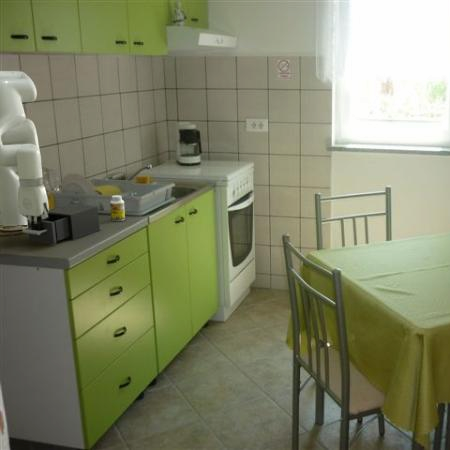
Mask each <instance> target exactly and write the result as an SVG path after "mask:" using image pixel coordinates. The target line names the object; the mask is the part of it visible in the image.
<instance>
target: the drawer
mask: <svg viewBox="0 0 450 450" xmlns="http://www.w3.org/2000/svg"><path fill="white" fill-rule="evenodd" d="M27 223H28V228H27V229H22V230H21V231H22V233H23V234H28V240H29V241H31V242H38V243H44V244H45V243H46V244H52V245H55V244H57V242H59V241H62V240H66V239H65V238H67V237H70V236H71V229H70V218H69V217H67V216H59V215H51V214H48V218H46V219H43V221H42V222H41V226H42V231H35V230H31V223H29V220H28V219H27Z"/></svg>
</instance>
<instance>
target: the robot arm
mask: <svg viewBox="0 0 450 450" xmlns="http://www.w3.org/2000/svg"><path fill="white" fill-rule="evenodd" d="M37 95H38V92H37V87H36V85H35V82H33V80H32V79H31V77H30V76H29V75H27V73H25V72H24V71H21V70H0V225H3V226H17V225H28V223H27V219H28V220H29V223H31V230H35V231H42V226H41V222H42V221H43V219H46V218H48V213H49V210H50V206H49V198H48V195H47V190H46V187H45V185H44V176H43V168H42V156H41V149H40V144H39V137H38V132H37V128H36V125H35V123H34V121H33V120H31V119H30V118H27V116H26V112H25V109H24V106H23V103H33V102H35V101H36V99H37V97H38V96H37ZM17 173H18V174H17ZM23 229H28V226H27V227H22V228H15V229H3V228H0V231H6V232H7V231H8V232H10V231H11V232H13V231H14V232H15V231H22V230H23Z"/></svg>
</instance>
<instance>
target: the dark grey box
mask: <svg viewBox="0 0 450 450" xmlns="http://www.w3.org/2000/svg"><path fill="white" fill-rule="evenodd" d="M48 214H51V215H59V216H67V217H69V218H70V229H71V236H70V237H67V238H65V239H64V240H70V241H74V240H77V239H80V238H83V237H85V236H88V235H91V234H93V233H97V232H98V231H100V220H99V219H100V217H99V208H98V206H97V205H89V204H88V205H87V204H80V203H69V204H66V205H65V204H64V205H62V206H58V207H54V208H52V209H49V213H48Z"/></svg>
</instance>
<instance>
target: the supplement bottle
mask: <svg viewBox="0 0 450 450" xmlns="http://www.w3.org/2000/svg"><path fill="white" fill-rule="evenodd" d="M109 207H110V208H109V209H110V217H111V218H110V220H111V221H112V222H124V221H125V220H126V210H125V201H124V200H123V197H122V195H120V194H119V195H118V194H115V195H112V196H111V200H110V202H109Z"/></svg>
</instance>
